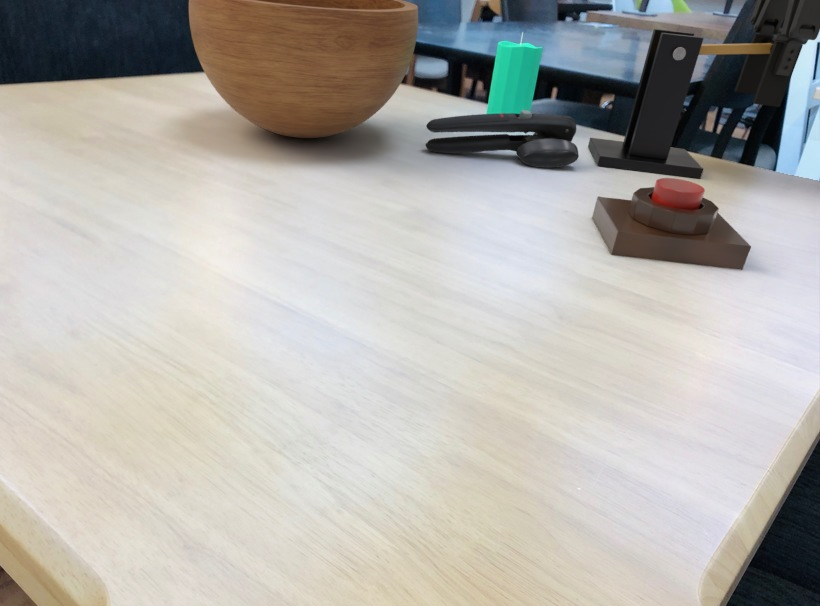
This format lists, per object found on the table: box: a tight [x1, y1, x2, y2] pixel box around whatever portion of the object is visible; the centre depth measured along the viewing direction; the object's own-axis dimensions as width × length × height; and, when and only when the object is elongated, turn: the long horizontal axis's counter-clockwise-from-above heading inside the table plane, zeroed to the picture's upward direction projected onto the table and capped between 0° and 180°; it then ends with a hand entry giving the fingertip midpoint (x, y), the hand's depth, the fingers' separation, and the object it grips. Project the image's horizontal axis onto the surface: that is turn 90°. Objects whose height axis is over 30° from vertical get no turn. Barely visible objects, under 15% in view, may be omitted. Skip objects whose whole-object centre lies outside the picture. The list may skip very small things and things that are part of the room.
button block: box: [591, 186, 752, 271], centre depth 62 cm, size 11×9×4 cm
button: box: [651, 177, 706, 210], centre depth 61 cm, size 4×4×2 cm
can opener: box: [425, 110, 580, 168], centre depth 82 cm, size 18×7×6 cm, turn 88°
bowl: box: [188, 0, 419, 139], centre depth 81 cm, size 25×25×15 cm
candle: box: [485, 31, 544, 114], centre depth 95 cm, size 6×6×12 cm
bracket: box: [587, 28, 704, 179], centre depth 84 cm, size 12×9×15 cm
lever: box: [698, 38, 774, 56], centre depth 80 cm, size 13×6×2 cm, turn 82°
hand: (756, 98), depth 82 cm, fingers closed on lever, 6 cm apart
